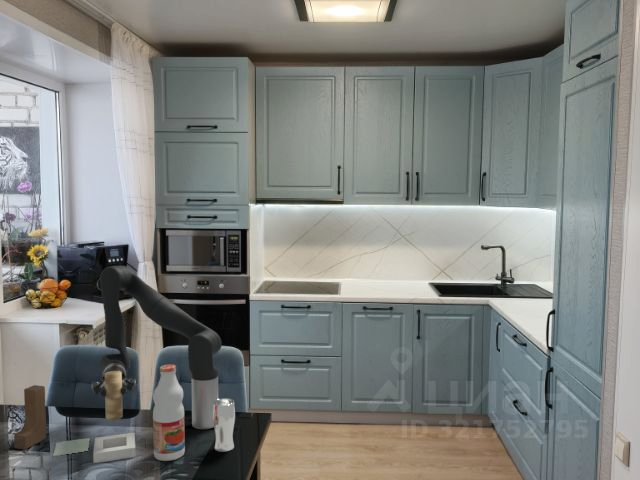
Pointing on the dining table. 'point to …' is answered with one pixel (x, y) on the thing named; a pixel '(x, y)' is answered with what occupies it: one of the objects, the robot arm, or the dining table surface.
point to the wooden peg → (113, 395)
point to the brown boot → (32, 418)
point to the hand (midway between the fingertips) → (113, 392)
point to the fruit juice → (168, 416)
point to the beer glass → (224, 424)
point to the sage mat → (71, 447)
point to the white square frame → (114, 447)
